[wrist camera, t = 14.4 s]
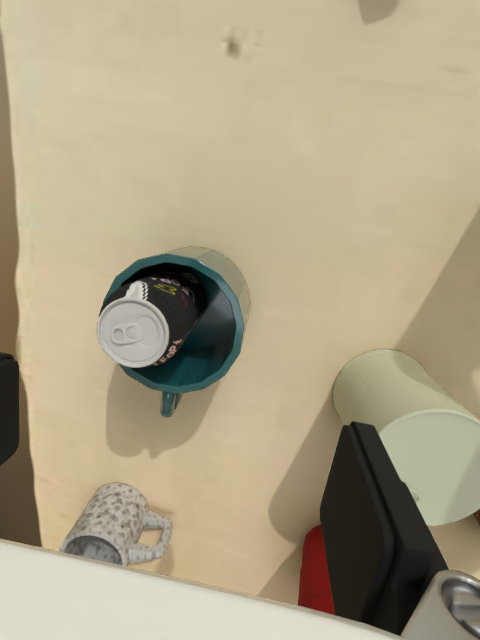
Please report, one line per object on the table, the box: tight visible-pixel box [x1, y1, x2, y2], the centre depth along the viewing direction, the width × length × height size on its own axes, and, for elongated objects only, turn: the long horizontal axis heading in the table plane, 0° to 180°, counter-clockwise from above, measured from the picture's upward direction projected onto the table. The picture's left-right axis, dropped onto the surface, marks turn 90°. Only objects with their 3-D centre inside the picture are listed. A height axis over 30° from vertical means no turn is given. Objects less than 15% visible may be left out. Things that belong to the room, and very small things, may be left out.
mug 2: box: [103, 246, 250, 418], centre depth 31 cm, size 13×10×9 cm
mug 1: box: [60, 483, 173, 566], centre depth 38 cm, size 10×7×7 cm, turn 86°
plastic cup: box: [298, 525, 335, 615], centre depth 35 cm, size 11×11×12 cm
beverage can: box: [97, 267, 207, 368], centre depth 28 cm, size 6×6×12 cm
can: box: [333, 349, 480, 526], centre depth 30 cm, size 9×9×12 cm
